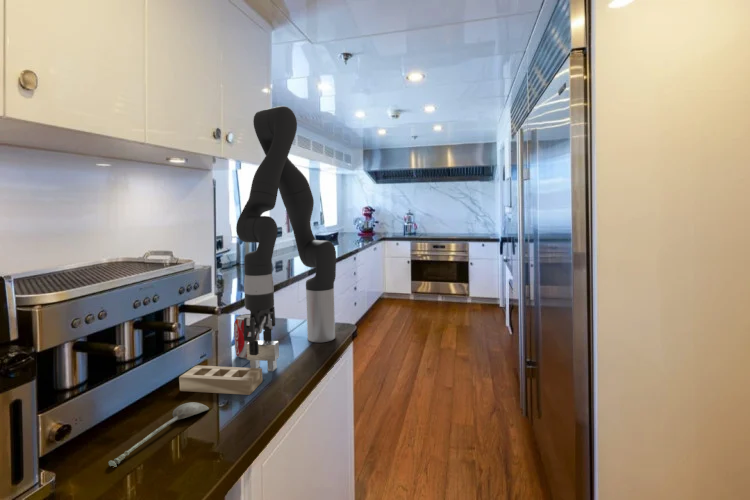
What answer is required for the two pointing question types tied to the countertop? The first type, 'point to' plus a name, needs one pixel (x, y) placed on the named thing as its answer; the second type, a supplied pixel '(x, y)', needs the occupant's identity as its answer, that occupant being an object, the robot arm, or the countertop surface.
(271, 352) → the light gray long block
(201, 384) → the beige slotted block
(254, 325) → the robot arm
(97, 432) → the countertop surface
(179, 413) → the soupspoon
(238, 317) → the soda can
